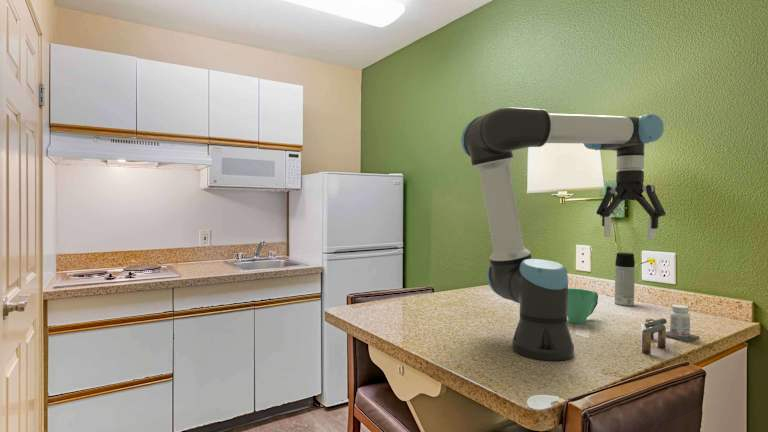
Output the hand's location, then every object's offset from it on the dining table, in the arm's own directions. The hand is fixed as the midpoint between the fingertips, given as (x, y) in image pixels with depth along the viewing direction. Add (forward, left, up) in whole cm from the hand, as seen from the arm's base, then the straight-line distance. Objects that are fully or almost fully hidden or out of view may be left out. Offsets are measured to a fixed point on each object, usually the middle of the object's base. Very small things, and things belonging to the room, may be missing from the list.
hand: (628, 238), depth 136 cm
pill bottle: (+3, -14, -28) cm, 31 cm away
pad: (+3, -14, -28) cm, 31 cm away
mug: (-5, +12, -28) cm, 31 cm away
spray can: (+32, +18, -28) cm, 46 cm away
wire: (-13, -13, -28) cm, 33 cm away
